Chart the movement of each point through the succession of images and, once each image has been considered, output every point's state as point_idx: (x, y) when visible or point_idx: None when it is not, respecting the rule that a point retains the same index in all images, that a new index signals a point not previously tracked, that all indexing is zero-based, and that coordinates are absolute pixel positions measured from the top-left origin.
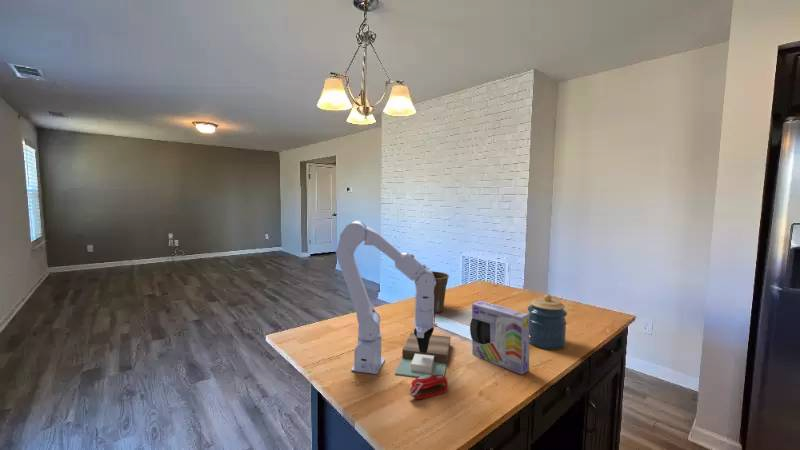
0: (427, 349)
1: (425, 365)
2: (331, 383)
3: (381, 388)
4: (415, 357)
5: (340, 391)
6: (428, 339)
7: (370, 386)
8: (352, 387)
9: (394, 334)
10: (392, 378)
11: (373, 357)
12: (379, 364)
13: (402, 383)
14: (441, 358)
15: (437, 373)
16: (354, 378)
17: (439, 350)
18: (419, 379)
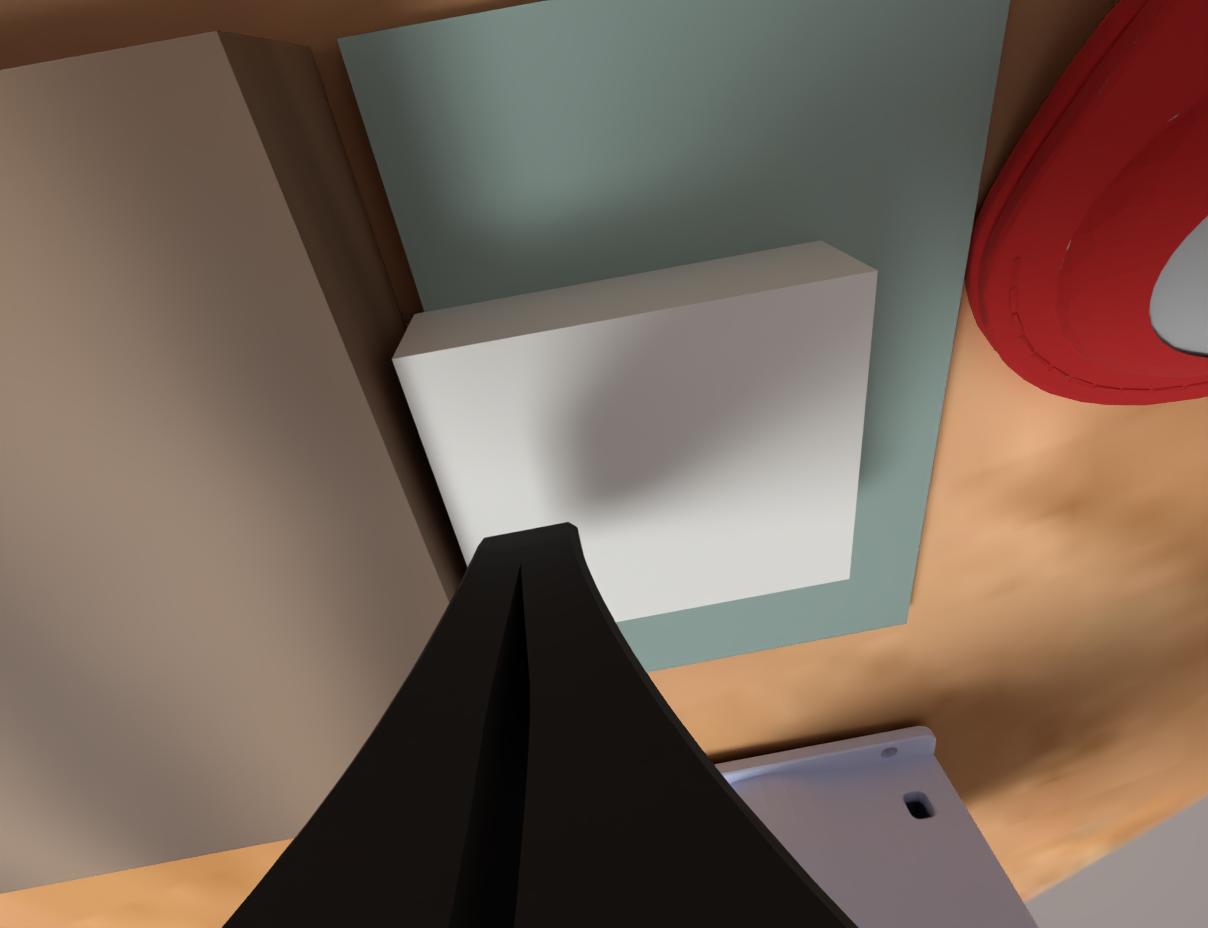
0: (504, 554)
1: (863, 378)
2: (1070, 843)
3: (1166, 603)
4: (624, 598)
5: (1178, 775)
6: (763, 841)
7: (1124, 677)
8: (1130, 751)
9: (19, 923)
10: (978, 599)
11: (1032, 921)
12: (793, 779)
13: (1080, 486)
14: (324, 184)
15: (813, 116)
16: (999, 792)
17: (120, 318)
18: None
